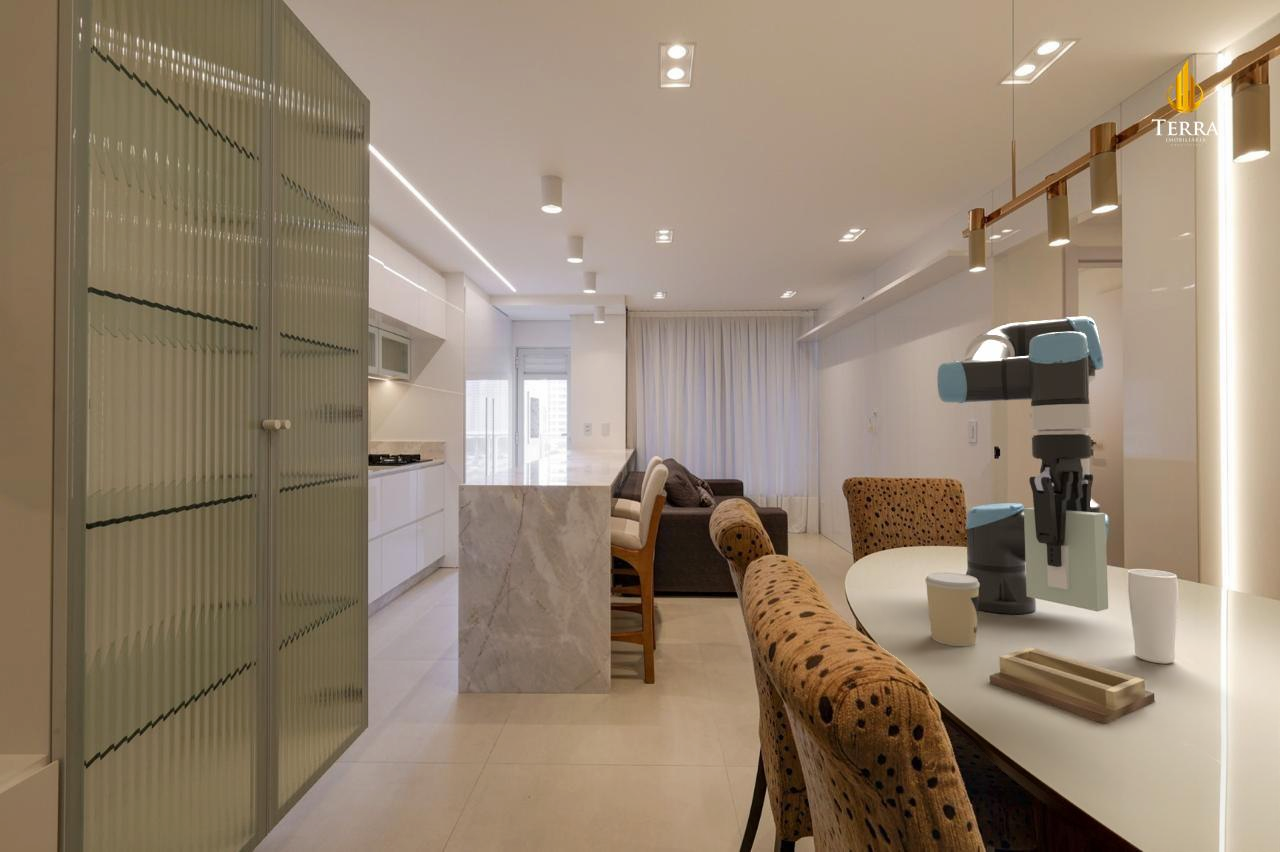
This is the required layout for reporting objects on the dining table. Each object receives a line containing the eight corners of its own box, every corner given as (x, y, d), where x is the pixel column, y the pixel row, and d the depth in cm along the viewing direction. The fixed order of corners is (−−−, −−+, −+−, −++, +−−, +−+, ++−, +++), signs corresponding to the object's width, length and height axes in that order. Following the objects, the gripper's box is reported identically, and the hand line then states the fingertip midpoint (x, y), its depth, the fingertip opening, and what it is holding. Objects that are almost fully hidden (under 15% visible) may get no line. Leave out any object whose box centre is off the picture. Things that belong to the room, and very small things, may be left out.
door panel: (1037, 594, 98) (1034, 507, 99) (1108, 608, 89) (1105, 513, 90) (1026, 596, 97) (1023, 508, 97) (1097, 611, 88) (1094, 514, 88)
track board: (1040, 666, 103) (1039, 644, 103) (1154, 701, 89) (1153, 676, 89) (989, 683, 97) (989, 659, 97) (1104, 723, 83) (1103, 696, 83)
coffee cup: (988, 649, 112) (986, 583, 112) (934, 646, 114) (932, 582, 114) (971, 633, 121) (970, 572, 121) (921, 630, 123) (919, 571, 123)
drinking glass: (1132, 649, 110) (1129, 566, 111) (1182, 658, 106) (1179, 572, 106) (1127, 659, 106) (1124, 573, 106) (1178, 669, 101) (1175, 579, 101)
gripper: (1063, 433, 101) (1067, 575, 100) (1004, 434, 93) (1009, 587, 93) (1115, 432, 94) (1120, 584, 94) (1057, 433, 87) (1062, 598, 86)
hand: (1065, 585), depth 93 cm, fingers closed on door panel, 3 cm apart
